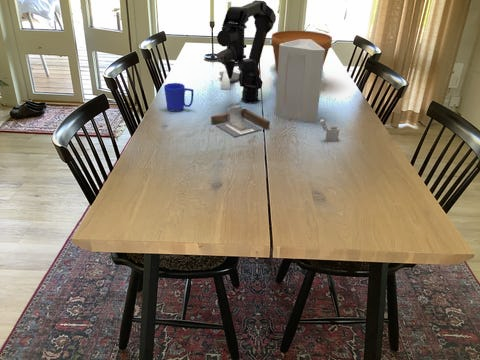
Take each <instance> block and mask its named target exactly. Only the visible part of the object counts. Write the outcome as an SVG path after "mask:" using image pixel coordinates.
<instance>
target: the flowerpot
mask: <svg viewBox="0 0 480 360" xmlns="http://www.w3.org/2000/svg"><path fill="white" fill-rule="evenodd" d="M299 39H311V40H313V41H314V42H315V43H317V44H318V45H320V46H321V47H322V48H324V49H325V54H324V63H323V66H324V65H325V62H326V58H327V56H328V53H329V50H330V49H331V48H332V41H333V38H332V36H331V35H329V34H326V33H322V32H317V31H309V30H308V31H307V30H283V31H276V32H274V33H272V34H271V46H272V50H273V56H274V62H275V70H276V75H278V59H279V44H281V43H285V42H290V41H294V40H299Z"/></svg>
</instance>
